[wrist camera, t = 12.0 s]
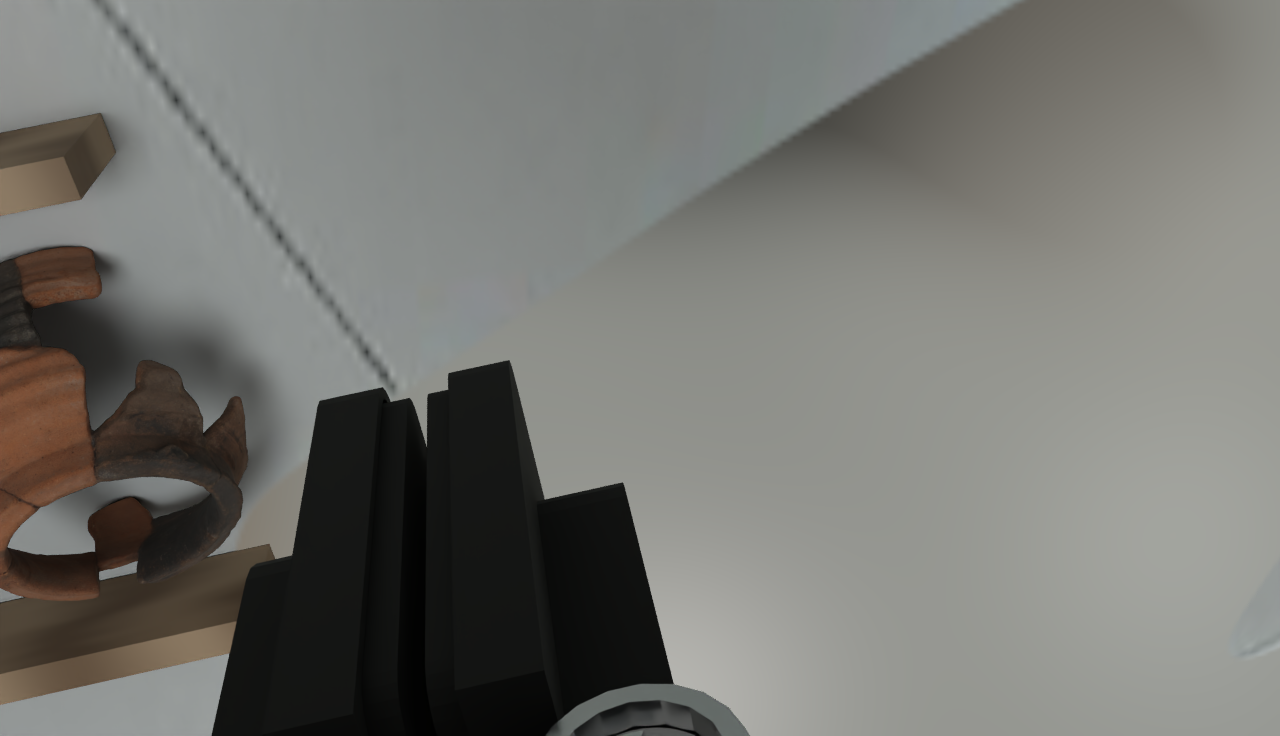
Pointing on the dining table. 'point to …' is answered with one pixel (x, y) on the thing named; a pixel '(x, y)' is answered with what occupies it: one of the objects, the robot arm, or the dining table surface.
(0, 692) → the u-shaped wooden frame
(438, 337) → the dining table surface
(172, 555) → the brown wooden sculpture
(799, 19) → the dining table surface
